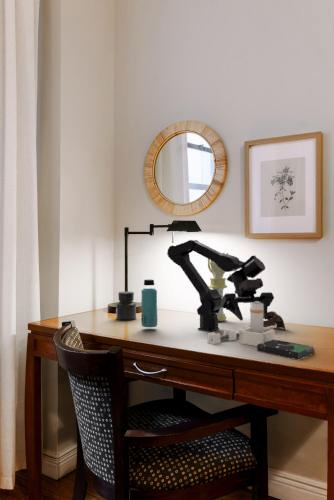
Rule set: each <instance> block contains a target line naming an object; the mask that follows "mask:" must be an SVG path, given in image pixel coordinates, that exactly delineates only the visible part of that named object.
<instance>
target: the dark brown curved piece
mask: <svg viewBox="0 0 334 500" xmlns="http://www.w3.org/2000/svg"><path fill="white" fill-rule="evenodd" d="M273 326H274V327H275V326H276V328H277V329H280V328H281V329H283V330H284V331H286V325H285V322H284V319H283V317H282V316H281V315H279V314H278V313H277V312H276V311H273V310H271V311H267V319H266V320H265V319H264V317H263V328H270V327H273Z"/></svg>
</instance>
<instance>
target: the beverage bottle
mask: <svg viewBox="0 0 334 500" xmlns="http://www.w3.org/2000/svg"><path fill="white" fill-rule="evenodd" d="M143 285H144V286H154V285H155V280H154V279H144V280H143ZM140 292H141V300H140V301H141V315H140V316H141V319H140V321H141V322H140V323H141V326H142V327H143V328H156V327H157V326H158V290H157V289H156V288H155V287H144V288H143V289H141V291H140Z"/></svg>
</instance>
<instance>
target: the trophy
mask: <svg viewBox="0 0 334 500" xmlns="http://www.w3.org/2000/svg"><path fill="white" fill-rule="evenodd" d="M223 254H225V252H223ZM226 254H228V255H229V252H227V253H226ZM207 267H208V271H209V272H210V273H211V274H212V276H213V277H209V280H210V284H209V285H208V287H209V288H210V289H212V290H213V289H217V291H218V292H219V294H220V295H221V296H222V297H221V298H222V299H223V296H224V289H226V288H228V286H227V285H226V280H227V278H226V277H224V274H225V273H226V272H225V271H223V270H222V269H221V268H219V267H218V266H217V265H216V263H215V262H213V261H212V260H210V259H208V258H207ZM216 314H217V318H218V322H223V321H225V320H227V316H226V313H224V308H222V307H221V309H220V310H219V313H216Z"/></svg>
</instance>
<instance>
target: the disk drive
mask: <svg viewBox="0 0 334 500" xmlns="http://www.w3.org/2000/svg"><path fill="white" fill-rule="evenodd" d="M256 350H257V352H260V353H265V354H270V355H274V354H275V355H274V356H278V355H280V357H283V356H284V357H283V358H288V357H289V359H292V358H295V359H294V360H297V359H300V360H302V359H304V358H303V357H305V358H307V357H310V356H312V355H314V354H315V348H314V347H313V346H310V345H307V344H306V345H305V344H300V343H295V342H289V341H285V340H277V339H274V340H271V341H267V342H265V343H264V344H262V343H261V344H258V345H257V346H256ZM311 354H312V355H311ZM309 355H310V356H309ZM306 356H307V357H306ZM301 358H302V359H301Z"/></svg>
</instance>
